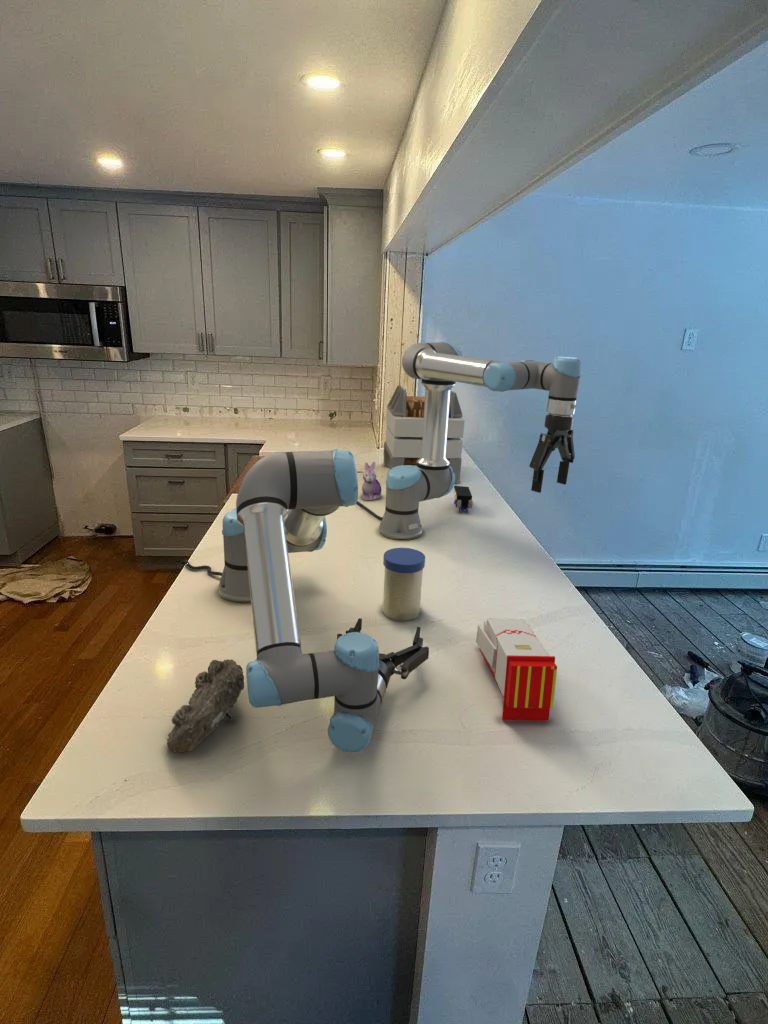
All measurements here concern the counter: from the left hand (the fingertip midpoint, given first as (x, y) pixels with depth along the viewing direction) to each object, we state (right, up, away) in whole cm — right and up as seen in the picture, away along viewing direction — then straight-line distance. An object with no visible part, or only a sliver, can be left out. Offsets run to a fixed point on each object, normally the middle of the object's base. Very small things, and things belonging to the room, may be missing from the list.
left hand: (389, 627), depth 129 cm
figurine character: (+30, +28, +99) cm, 107 cm away
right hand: (+47, +34, +36) cm, 68 cm away
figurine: (-7, +32, +107) cm, 112 cm away
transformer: (+16, +45, +146) cm, 153 cm away
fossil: (-34, -13, -21) cm, 42 cm away
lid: (+4, +15, +14) cm, 21 cm away
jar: (+3, 0, +20) cm, 20 cm away
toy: (+26, -10, -6) cm, 28 cm away
